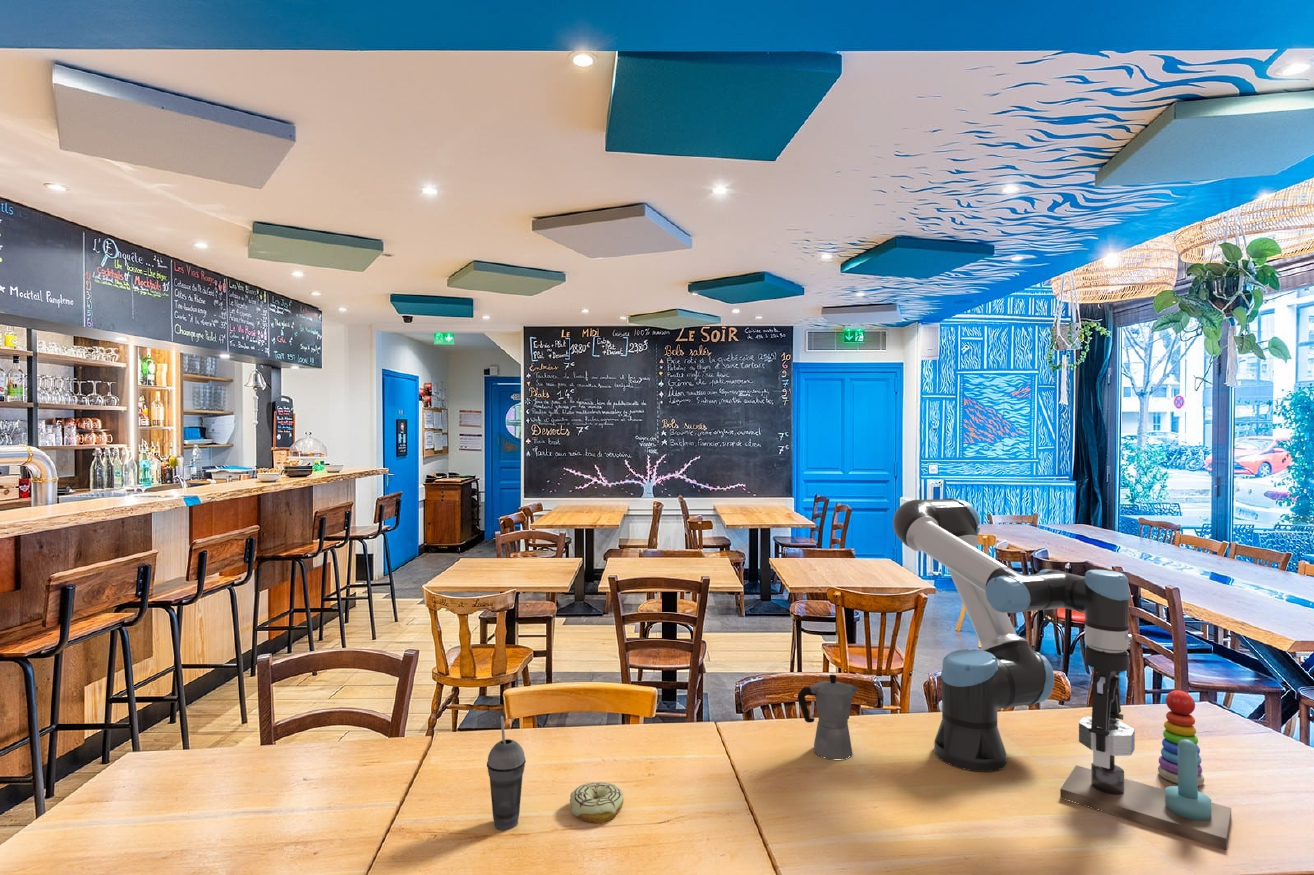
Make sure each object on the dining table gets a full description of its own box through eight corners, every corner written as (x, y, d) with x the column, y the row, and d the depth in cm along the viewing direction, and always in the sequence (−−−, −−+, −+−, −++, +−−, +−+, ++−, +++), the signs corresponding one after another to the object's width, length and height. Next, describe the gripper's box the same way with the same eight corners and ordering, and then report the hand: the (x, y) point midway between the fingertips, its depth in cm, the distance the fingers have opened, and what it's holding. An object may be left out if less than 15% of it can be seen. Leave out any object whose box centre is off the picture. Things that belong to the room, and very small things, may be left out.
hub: (1162, 811, 131) (1162, 740, 131) (1167, 797, 136) (1167, 729, 136) (1209, 825, 126) (1209, 751, 126) (1213, 810, 131) (1212, 739, 131)
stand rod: (1088, 788, 140) (1088, 734, 140) (1094, 778, 144) (1094, 725, 144) (1121, 797, 136) (1121, 742, 136) (1126, 787, 140) (1126, 733, 140)
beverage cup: (506, 838, 125) (506, 728, 125) (478, 827, 129) (478, 720, 129) (533, 820, 131) (533, 715, 131) (505, 809, 135) (506, 707, 135)
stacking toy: (1212, 790, 143) (1212, 699, 143) (1169, 786, 145) (1168, 697, 145) (1191, 772, 151) (1190, 686, 151) (1150, 768, 152) (1149, 684, 152)
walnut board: (1060, 798, 139) (1060, 788, 139) (1076, 774, 150) (1076, 765, 150) (1226, 850, 122) (1226, 838, 122) (1231, 818, 132) (1231, 808, 132)
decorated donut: (568, 827, 129) (568, 807, 129) (571, 798, 140) (571, 779, 140) (623, 825, 130) (623, 805, 130) (622, 796, 141) (622, 777, 141)
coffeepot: (848, 740, 167) (848, 666, 167) (869, 758, 157) (868, 679, 158) (789, 746, 163) (789, 671, 163) (806, 764, 154) (806, 684, 154)
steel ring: (1075, 745, 140) (1075, 726, 140) (1085, 732, 146) (1085, 713, 146) (1129, 760, 134) (1129, 739, 134) (1136, 745, 140) (1136, 725, 140)
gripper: (1118, 664, 130) (1118, 783, 130) (1137, 640, 146) (1137, 746, 145) (1073, 655, 135) (1072, 770, 135) (1096, 633, 151) (1095, 735, 151)
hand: (1106, 757), depth 140 cm, fingers closed on steel ring, 9 cm apart
